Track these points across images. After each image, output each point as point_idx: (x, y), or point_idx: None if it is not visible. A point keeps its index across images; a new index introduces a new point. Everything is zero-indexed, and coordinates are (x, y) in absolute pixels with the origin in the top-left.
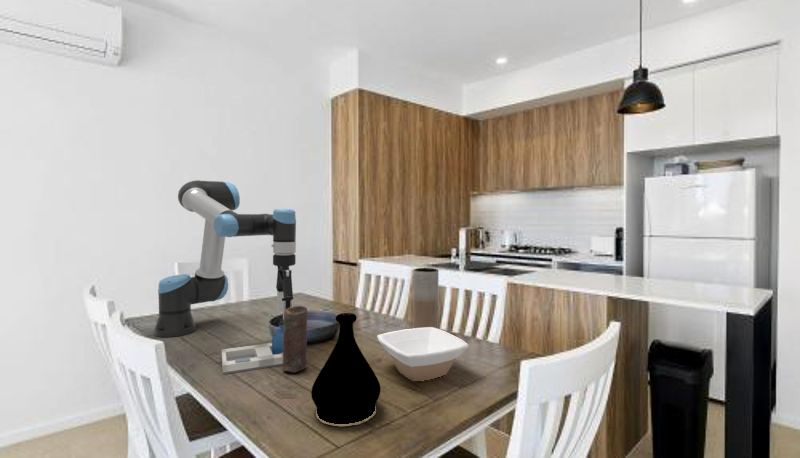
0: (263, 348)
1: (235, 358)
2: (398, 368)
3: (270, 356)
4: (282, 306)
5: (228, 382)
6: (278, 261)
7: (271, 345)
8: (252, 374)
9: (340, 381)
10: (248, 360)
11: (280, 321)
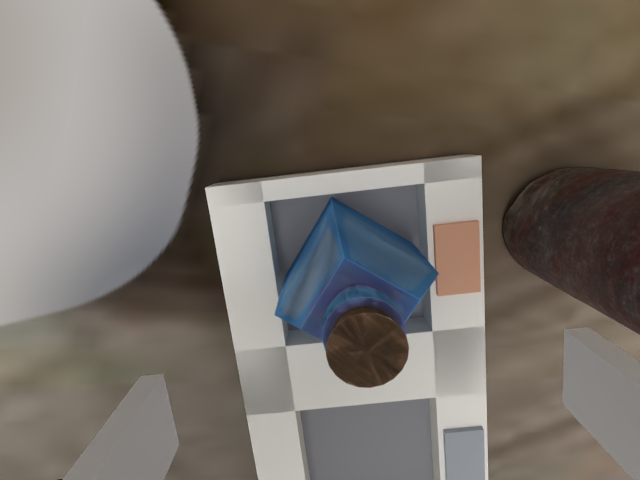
0: (315, 373)
1: (327, 463)
2: None
3: (454, 342)
4: (155, 422)
5: (566, 466)
6: None
7: (276, 335)
8: (523, 391)
9: None
10: (483, 435)
11: (380, 383)
